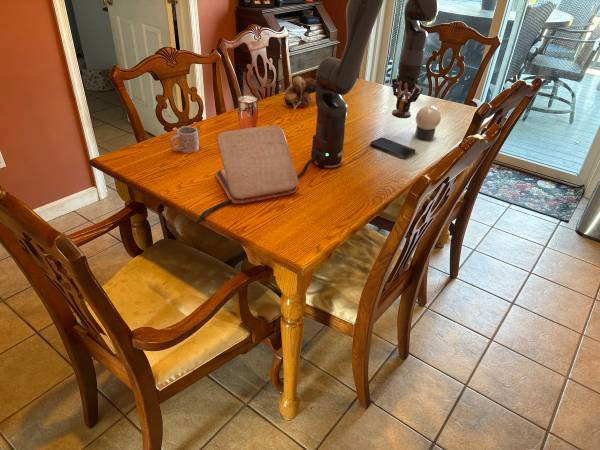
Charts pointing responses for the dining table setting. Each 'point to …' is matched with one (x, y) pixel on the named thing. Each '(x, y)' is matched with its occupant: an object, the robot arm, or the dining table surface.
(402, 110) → the knob on round base
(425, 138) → the stand
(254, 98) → the beer glass
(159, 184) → the dining table surface
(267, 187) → the case
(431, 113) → the ball
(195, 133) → the mug
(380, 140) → the phone
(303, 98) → the seed pod
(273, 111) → the dining table surface
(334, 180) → the dining table surface
